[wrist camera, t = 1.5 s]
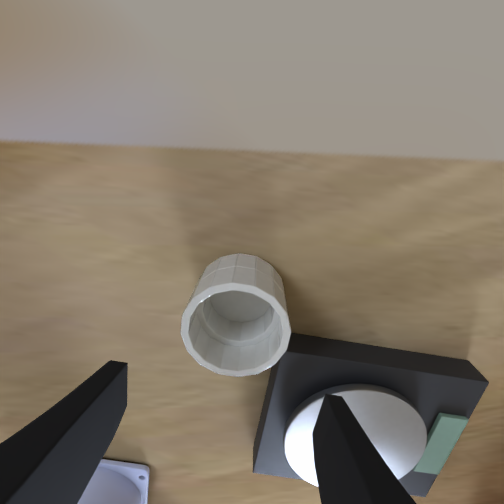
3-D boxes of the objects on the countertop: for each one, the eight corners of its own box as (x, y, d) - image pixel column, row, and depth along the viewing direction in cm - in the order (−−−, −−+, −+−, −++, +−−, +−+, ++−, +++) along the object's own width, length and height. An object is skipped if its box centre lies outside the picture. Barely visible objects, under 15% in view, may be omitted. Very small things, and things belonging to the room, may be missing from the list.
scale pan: (396, 491, 21) (399, 500, 21) (271, 473, 21) (271, 482, 20) (444, 394, 18) (450, 402, 18) (299, 372, 18) (300, 380, 17)
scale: (412, 469, 24) (429, 505, 22) (253, 446, 24) (252, 480, 21) (468, 360, 20) (495, 388, 18) (280, 330, 20) (282, 355, 17)
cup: (275, 332, 20) (278, 383, 16) (195, 320, 20) (177, 368, 16) (291, 258, 18) (301, 293, 14) (203, 244, 18) (185, 275, 14)
